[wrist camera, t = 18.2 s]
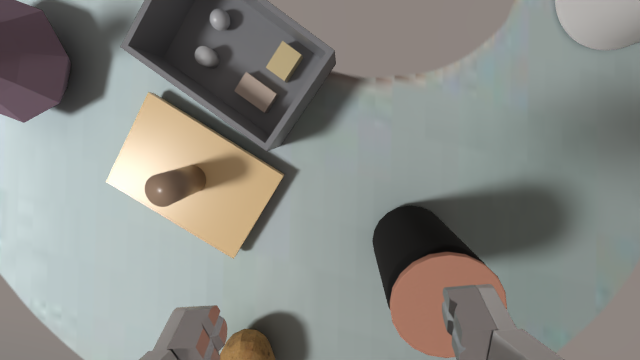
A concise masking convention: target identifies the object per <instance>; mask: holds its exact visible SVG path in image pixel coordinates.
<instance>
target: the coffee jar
mask: <svg viewBox="0 0 640 360" xmlns="http://www.w3.org/2000/svg"><path fill="white" fill-rule="evenodd" d="M373 247H374V252H375V256H376V260H377V264H378V268H379V272H380V276H381V279H382V283H383V287H384V291H385V295H386V299H387V303H388V307H389V308H390V310H391V315H392V321H393V324H394V326H395V328H396V329H397V331H398V333H399V335H400V336H401V337H402V338H403V339H404V340H405V341H406V342H407V343H408V344H409V345H410V346H412V347H413V348H414V349H416V350H419V351H421V352H423V353H425V354H427V355H431V356H437V357H444V358H449V357H456V356H455V354H454V351H453V348H452V345H451V344H452V336H451V335H450V334H449V333H448V332H447V330H446V327H445V324H444V320H443V314H442V303H443V302H444V301H445V300H444V297H443V289H444V287H454V286H465V285H482V284H491V285H492V286H494V288H495V290H496V292H497V293H498V295H499V297H500V299H501V301H502V302H503V304H504V306H505V308H506V310H507V304H506V295H505V290H504V288H503V286H502V284H501V282H500V280H499V278H498V276H496V275H495V274H494V273H493V272H492V271H491V270H490V269H489V268H488V267H487V266H486V265H485V264H484V262H483V261H481V260H480V259H479V258H478V257H477V256H476V255H475V254H474V253H473V252H472V251H471V250H470V249H469V248H468V247H467V246H466V245H465V244H464V243H463V242H462V241H461V240H460V239H459V238H458V237H457V236H456V235H455V234H454V233H453V232H452V231H451V230H450V229H449V228H448V227H447V226H446V225H445V224H444V223H443V222H442V221H441V220H440V219H439V218H438V217H437V216H436V215H434V214H433V213H432V212H431V211H428V210H426V209H424V208H422V207H416V206H405V207H399V208H396V209H394V210H392V211H390V212H388V213H387V214H386V215H385V216H384V217H383V218H382V219H381V220H380V221H379V223H378V225H377V226H376V228H375V230H374V235H373Z"/></svg>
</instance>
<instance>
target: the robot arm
mask: <svg viewBox="0 0 640 360" xmlns="http://www.w3.org/2000/svg"><path fill="white" fill-rule="evenodd" d="M555 6H556V12H557V15H558V18H559V21H560V23H561V25H562V27H563V28H564V30H565V31H566V32H567V34H568V35H569V36H570V37H571V38H573V39H574V40H575V41H576V42H578V43H580V44H581V45H584V46H586V47H589V48H592V49H597V50H615V49H620V48H624V47H627V46H630V45H632V44H635V43H638V42H640V0H555ZM443 297H444V300H445V301H444V302H443V303H442V314H443V320H444V324H445V327H446V330H447V332H448V333H449V334H450V335H451V336H452V344H451V345H452V348H453V351H454V354H455V356H456V359H457V360H564V359H563V358H561V357H560V356H559V355H557V354H556V353H555V352H553V351H552V350H551V349H549V348H548V347H546V346H545V345H544V344H542V343H541V342H540V341H538V340H537V339H536V338H534V337H533V336H531V335H530V334H529V333H527V332H526V331H525V330H523V329H517V328H516V326H515V324H514V322H513V320H512V319H511V317H510V315H509V313H508V311H507V310H506V308H505V306H504V304H503V302H502V301H501V299H500V297H499V295H498V293H497V292H496V290H495V288H494V286H492V285H491V284H482V285H465V286H454V287H444V289H443ZM219 313H220V310H219V308H218V307H217V305H216V306H196V307H180V308H176V309H175V310H174V311H173V312H172V314H171V316H170V318H169V320H168V321H167V323H166V325H165V327H164V329H163V331H162V333H161V335H160V337H159V339H158V341H157V343H156V345H155V347H154V349H153V351H148V352H147V353H146V354H145V355H144V356H143V357H142V358H140V359H139V360H220V355H219V352H218V351H219V350H220V349H221V348H222V347H223V346H224V345H225V341H226V338H227V325H226V321H225V319H224V318H222V317H221V316H219Z"/></svg>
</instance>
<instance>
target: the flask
mask: <svg viewBox="0 0 640 360" xmlns="http://www.w3.org/2000/svg"><path fill="white" fill-rule="evenodd" d="M70 69H71V62H70V60H69V57H68V55H67V54H66V52H65V50H64V48H63V46H62V45H61V43H60V41H59V39H58V37H57V36H56V34H55V32H54V30H53V28H52V27H51V25H50V23H49V21H48V19H47V18H46V16H45V14H44V12H43V10H40V9H37V8H35V7H32V6H29V5H27V4H24V3H21V2H19V1H16V0H0V114H2V115H5V116H8V117H10V118H13V119H16V120H18V121H21V122H26V121H28V120H30V119H32V118H33V117H35V116H37V115H39V114H41V113H43V112H44V111H46V110H48V109H50V108H52V107H53V106H55V105H57V104H59V103H60V102H61V99H62V97H63V95H64V93H65V91H66V89H67V85H68V79H69V74H70Z"/></svg>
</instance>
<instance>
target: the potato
mask: <svg viewBox="0 0 640 360" xmlns="http://www.w3.org/2000/svg"><path fill="white" fill-rule="evenodd" d="M220 360H275V356H274V354H273V351H272V349H271V346H270V343H269V341H268V340H267V338H266V337H265V335H263V334H262V333H260V332H259V331H257V330H252V329H243V330H241V331H239V332H237V333H235V334H233V335H232V336H231V337H230V338H229V340H228V341H227V342H226V344H225V346H224V348H223V350H222V352H221V354H220Z"/></svg>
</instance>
